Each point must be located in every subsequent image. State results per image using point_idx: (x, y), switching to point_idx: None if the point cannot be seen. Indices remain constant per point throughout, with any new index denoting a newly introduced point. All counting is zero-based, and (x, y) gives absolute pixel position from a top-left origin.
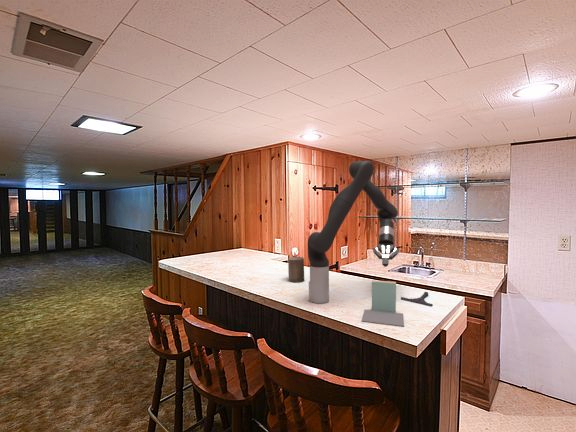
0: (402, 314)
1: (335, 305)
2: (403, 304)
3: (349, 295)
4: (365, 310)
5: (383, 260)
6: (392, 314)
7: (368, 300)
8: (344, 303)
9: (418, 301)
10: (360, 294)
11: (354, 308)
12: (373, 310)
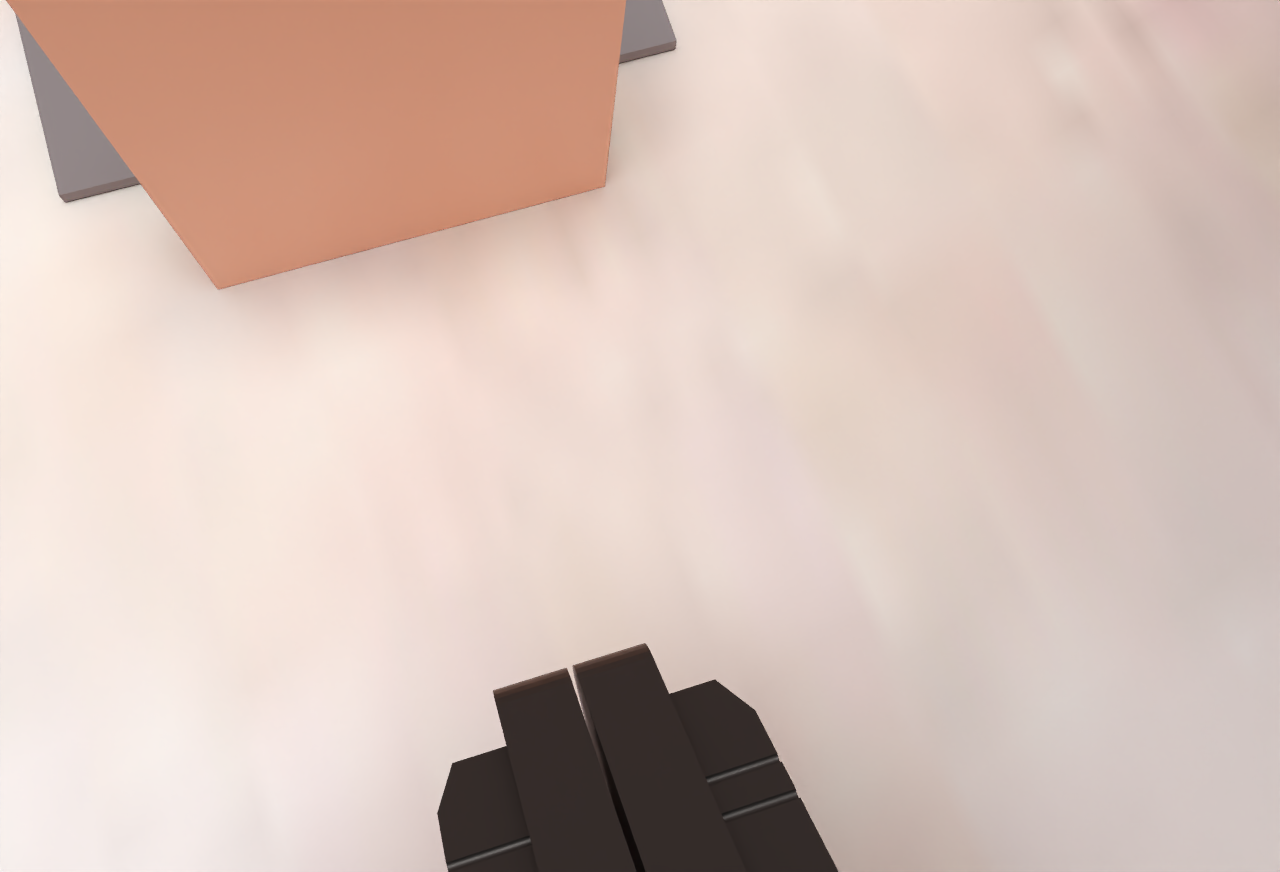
0: (61, 151)
1: (1149, 3)
2: (170, 723)
3: (1263, 613)
4: (643, 5)
5: (752, 858)
6: None
7: (830, 546)
8: (1089, 159)
9: None
10: (1130, 814)
11: (842, 41)
12: None
